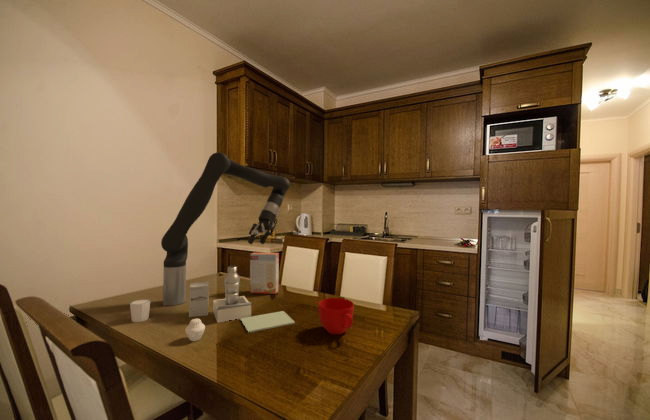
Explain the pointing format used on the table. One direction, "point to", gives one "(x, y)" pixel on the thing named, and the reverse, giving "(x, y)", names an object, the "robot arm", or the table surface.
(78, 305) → the table surface
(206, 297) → the supplement box
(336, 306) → the ceramic cup
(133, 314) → the shot glass
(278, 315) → the mat
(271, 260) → the cracker box
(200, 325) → the muffin
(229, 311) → the sleeve
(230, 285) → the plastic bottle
